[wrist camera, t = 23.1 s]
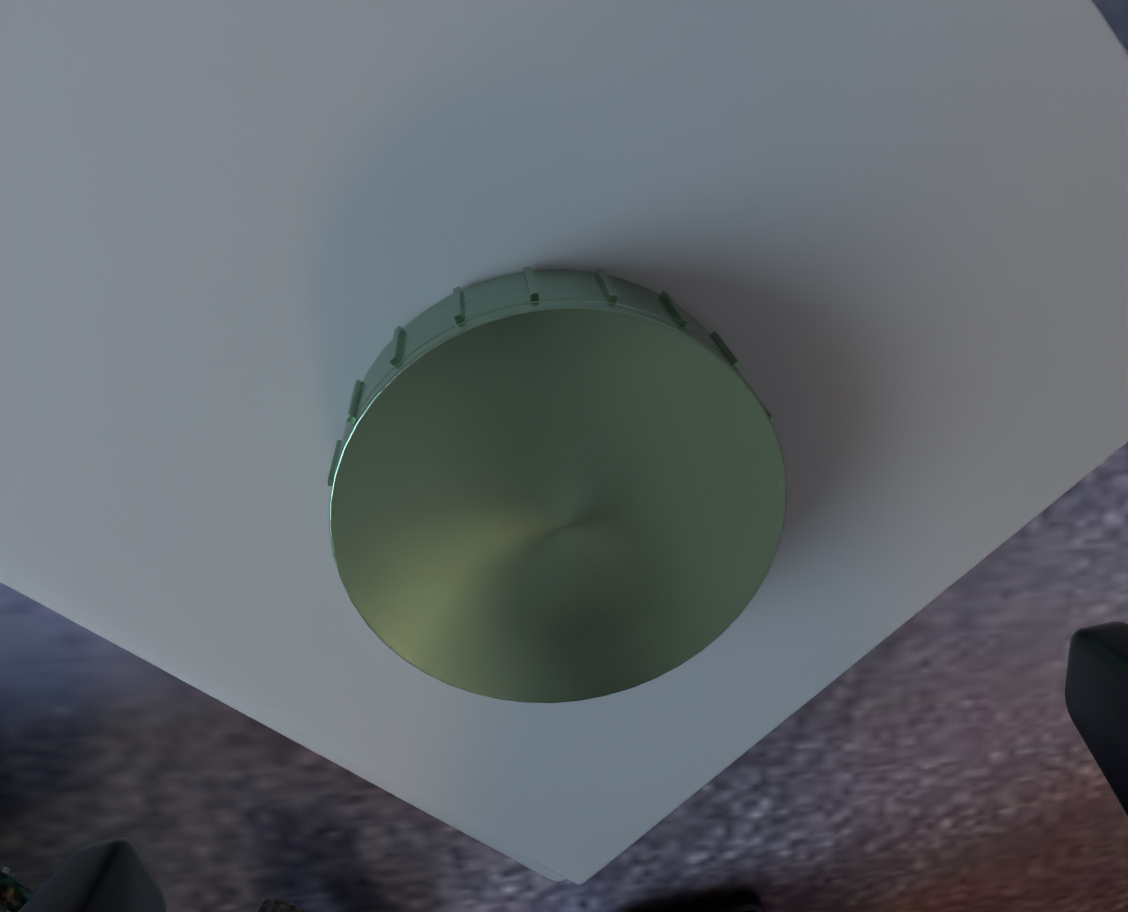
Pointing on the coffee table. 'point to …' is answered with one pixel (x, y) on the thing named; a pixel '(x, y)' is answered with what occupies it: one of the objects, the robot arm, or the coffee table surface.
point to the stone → (279, 906)
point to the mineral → (12, 892)
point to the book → (543, 241)
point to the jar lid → (554, 488)
